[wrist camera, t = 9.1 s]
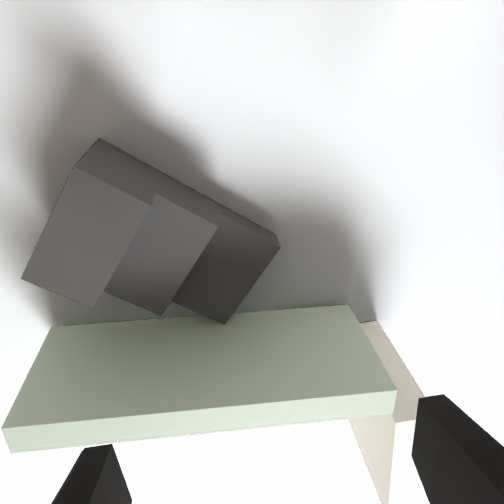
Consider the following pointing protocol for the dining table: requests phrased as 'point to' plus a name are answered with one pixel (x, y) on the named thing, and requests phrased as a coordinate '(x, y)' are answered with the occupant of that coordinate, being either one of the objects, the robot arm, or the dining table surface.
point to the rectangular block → (391, 430)
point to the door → (197, 377)
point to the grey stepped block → (146, 240)
